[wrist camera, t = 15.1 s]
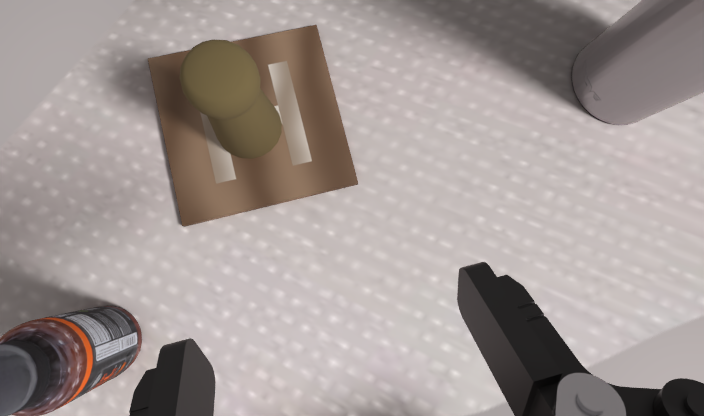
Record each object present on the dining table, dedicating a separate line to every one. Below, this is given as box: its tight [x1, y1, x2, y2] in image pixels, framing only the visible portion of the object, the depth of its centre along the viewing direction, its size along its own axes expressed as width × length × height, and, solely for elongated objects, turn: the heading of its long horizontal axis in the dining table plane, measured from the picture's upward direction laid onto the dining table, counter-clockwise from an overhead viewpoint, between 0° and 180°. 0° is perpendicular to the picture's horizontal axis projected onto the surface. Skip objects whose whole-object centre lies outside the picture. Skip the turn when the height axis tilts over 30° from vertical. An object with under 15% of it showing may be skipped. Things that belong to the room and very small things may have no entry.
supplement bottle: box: [0, 306, 142, 416], centre depth 27 cm, size 6×6×11 cm
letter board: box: [148, 25, 358, 226], centre depth 36 cm, size 16×16×1 cm
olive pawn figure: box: [180, 40, 282, 159], centre depth 30 cm, size 6×6×11 cm
